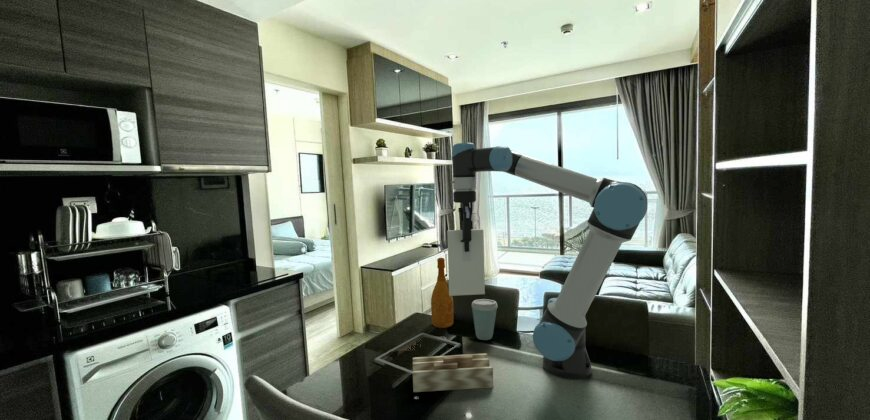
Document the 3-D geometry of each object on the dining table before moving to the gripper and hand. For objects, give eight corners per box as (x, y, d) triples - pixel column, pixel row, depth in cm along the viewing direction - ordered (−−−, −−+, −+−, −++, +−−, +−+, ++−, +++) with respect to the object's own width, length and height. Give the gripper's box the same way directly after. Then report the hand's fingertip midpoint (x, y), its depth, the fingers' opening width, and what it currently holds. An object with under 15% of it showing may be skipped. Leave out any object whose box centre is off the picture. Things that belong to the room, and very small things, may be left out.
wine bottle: (446, 330, 152) (444, 261, 150) (427, 326, 158) (425, 259, 155) (457, 322, 161) (456, 256, 158) (439, 318, 166) (437, 254, 164)
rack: (487, 374, 117) (486, 353, 116) (493, 390, 108) (492, 367, 107) (413, 378, 116) (412, 357, 115) (413, 395, 106) (412, 372, 106)
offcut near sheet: (472, 379, 112) (471, 354, 112) (473, 382, 111) (472, 357, 110) (443, 381, 112) (443, 356, 111) (444, 384, 110) (443, 358, 110)
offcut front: (457, 384, 110) (456, 361, 109) (458, 386, 108) (457, 364, 108) (434, 385, 110) (434, 363, 109) (434, 388, 108) (434, 365, 107)
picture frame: (373, 358, 127) (426, 330, 151) (373, 363, 128) (426, 333, 151) (414, 375, 116) (464, 340, 140) (415, 379, 116) (464, 345, 140)
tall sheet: (483, 292, 123) (482, 229, 121) (484, 294, 121) (483, 229, 120) (449, 294, 122) (447, 230, 121) (449, 295, 121) (447, 231, 119)
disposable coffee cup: (469, 332, 150) (468, 297, 149) (494, 330, 151) (493, 295, 150) (475, 343, 139) (474, 306, 138) (501, 341, 140) (501, 304, 139)
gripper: (450, 190, 126) (452, 256, 128) (455, 191, 112) (457, 265, 113) (472, 189, 127) (473, 255, 129) (479, 190, 112) (481, 264, 114)
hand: (466, 260), depth 121 cm, fingers closed on tall sheet, 2 cm apart
